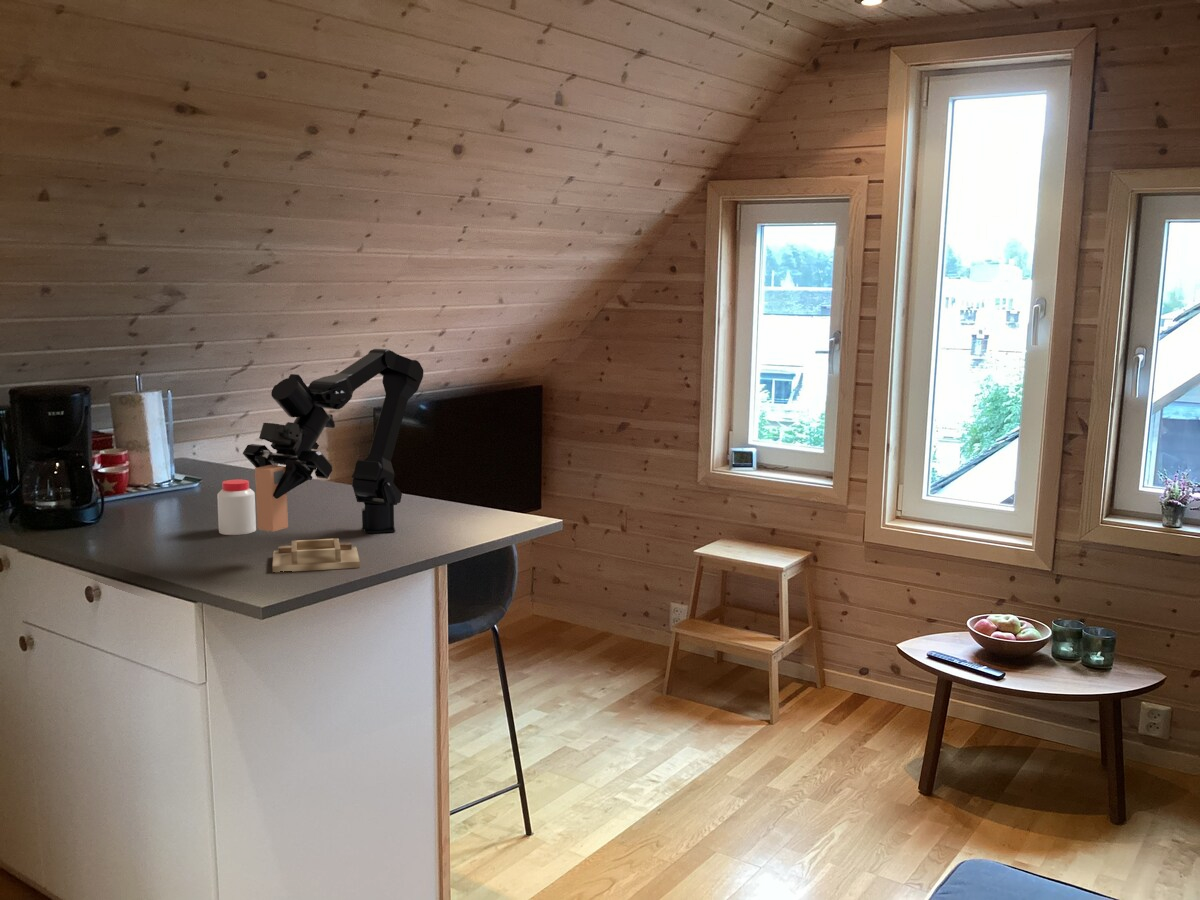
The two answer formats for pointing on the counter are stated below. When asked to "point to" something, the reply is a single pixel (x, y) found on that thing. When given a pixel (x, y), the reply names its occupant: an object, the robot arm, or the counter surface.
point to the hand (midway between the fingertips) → (266, 496)
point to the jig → (315, 556)
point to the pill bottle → (236, 508)
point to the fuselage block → (270, 499)
